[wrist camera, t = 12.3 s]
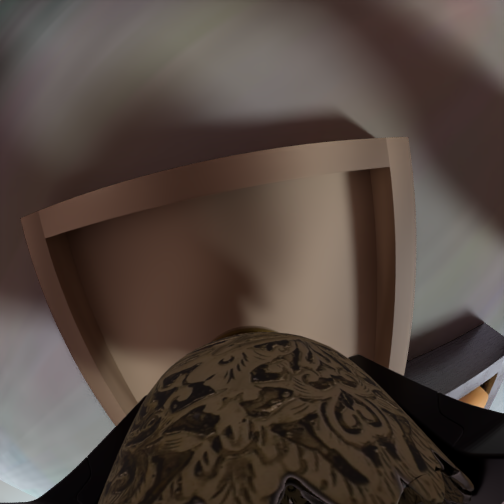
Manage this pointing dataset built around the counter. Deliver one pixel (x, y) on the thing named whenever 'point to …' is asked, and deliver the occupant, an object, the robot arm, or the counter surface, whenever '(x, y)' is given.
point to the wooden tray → (232, 260)
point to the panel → (463, 365)
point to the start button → (476, 397)
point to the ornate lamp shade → (276, 432)
